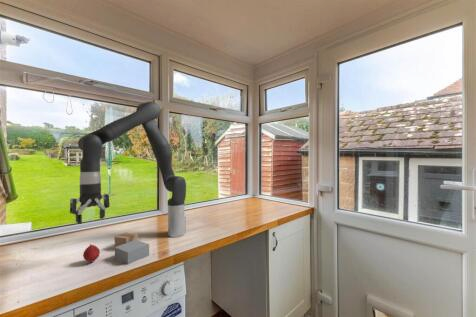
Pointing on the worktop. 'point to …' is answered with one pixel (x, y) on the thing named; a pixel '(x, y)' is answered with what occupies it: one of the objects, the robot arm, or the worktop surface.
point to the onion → (91, 253)
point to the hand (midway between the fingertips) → (91, 220)
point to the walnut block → (125, 238)
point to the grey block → (131, 251)
